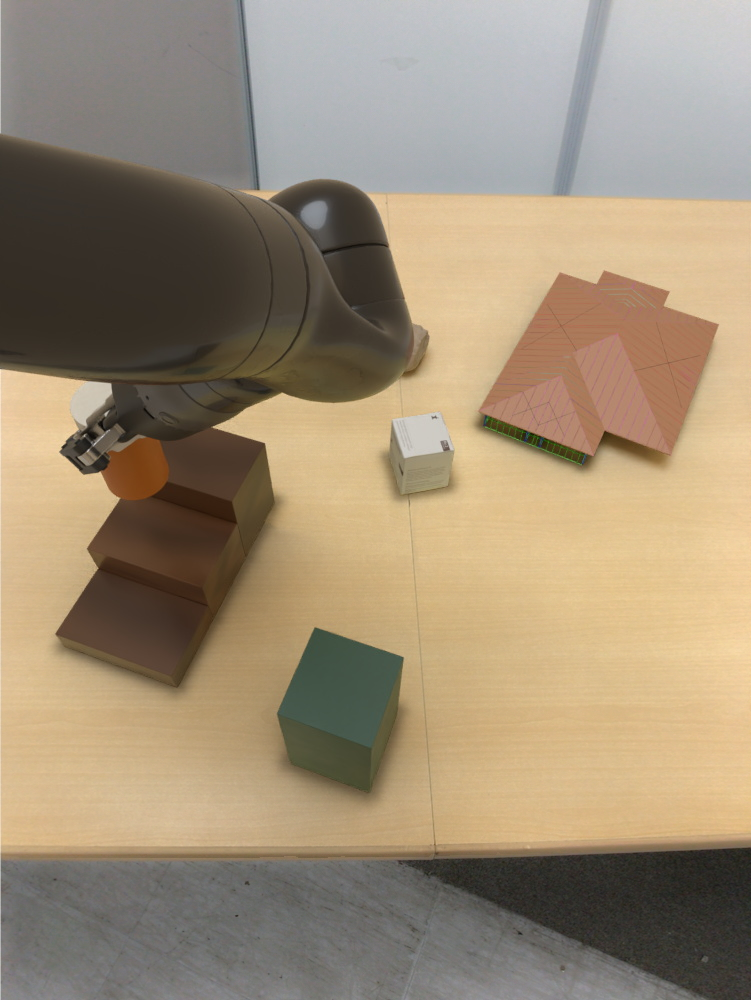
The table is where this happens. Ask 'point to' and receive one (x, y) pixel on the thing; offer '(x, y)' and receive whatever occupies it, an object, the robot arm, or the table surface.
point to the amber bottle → (134, 466)
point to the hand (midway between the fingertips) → (103, 423)
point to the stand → (341, 708)
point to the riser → (172, 557)
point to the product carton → (421, 452)
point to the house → (602, 367)
